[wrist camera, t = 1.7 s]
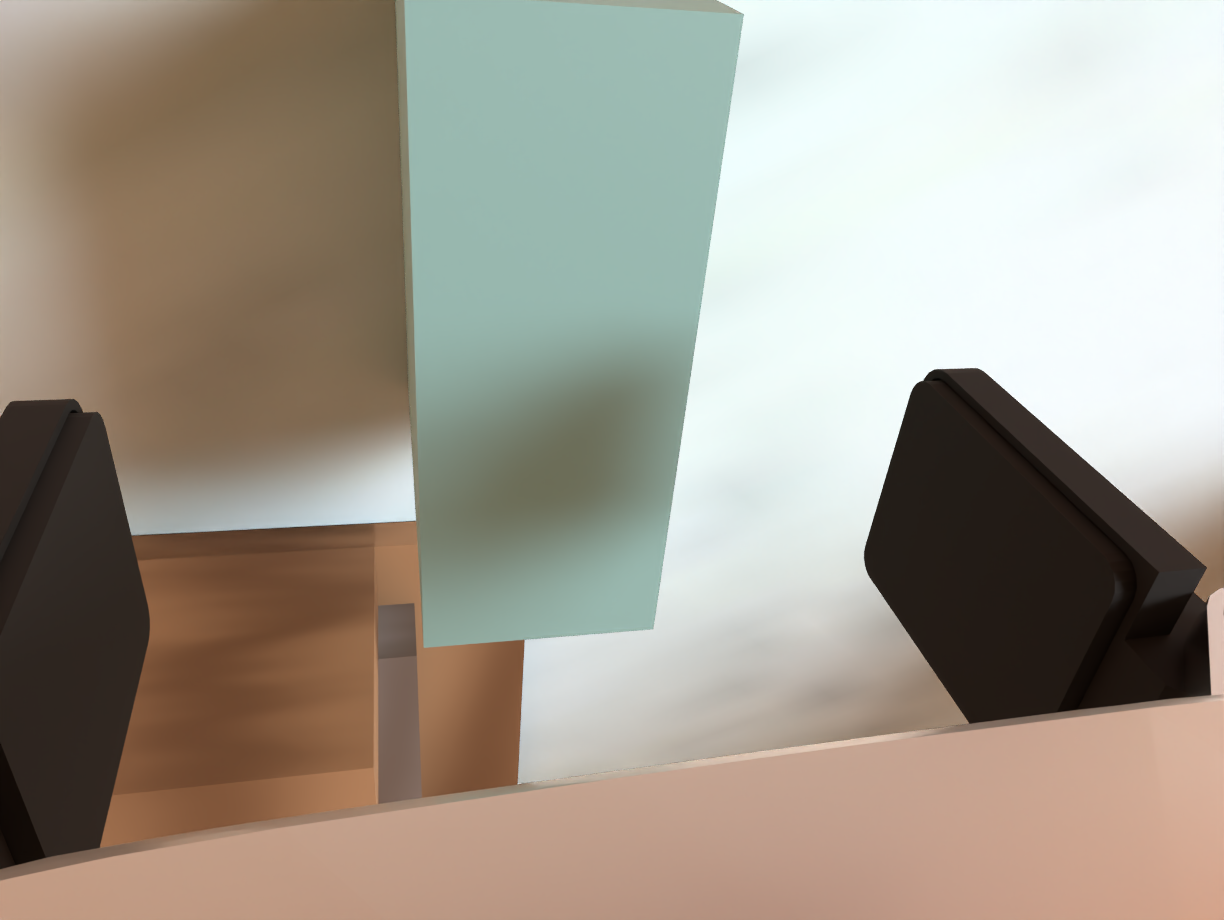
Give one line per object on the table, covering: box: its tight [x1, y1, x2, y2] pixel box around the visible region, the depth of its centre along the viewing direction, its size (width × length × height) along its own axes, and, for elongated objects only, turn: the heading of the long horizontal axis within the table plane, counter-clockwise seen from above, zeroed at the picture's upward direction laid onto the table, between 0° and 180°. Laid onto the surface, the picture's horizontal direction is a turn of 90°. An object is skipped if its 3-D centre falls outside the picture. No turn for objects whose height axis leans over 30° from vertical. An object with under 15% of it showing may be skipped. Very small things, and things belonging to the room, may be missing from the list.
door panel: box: [395, 0, 744, 648], centre depth 17 cm, size 4×10×9 cm, turn 175°
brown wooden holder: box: [100, 521, 524, 848], centre depth 27 cm, size 14×20×8 cm
